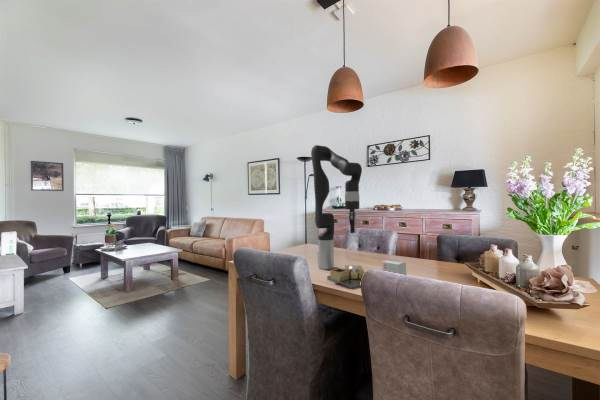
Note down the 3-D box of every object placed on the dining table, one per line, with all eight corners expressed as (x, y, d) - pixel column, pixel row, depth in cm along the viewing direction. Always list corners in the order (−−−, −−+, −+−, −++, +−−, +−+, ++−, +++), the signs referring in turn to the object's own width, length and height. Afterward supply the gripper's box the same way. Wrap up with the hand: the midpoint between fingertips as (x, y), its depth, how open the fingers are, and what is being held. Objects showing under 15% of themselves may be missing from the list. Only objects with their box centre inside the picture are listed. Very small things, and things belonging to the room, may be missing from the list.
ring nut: (353, 271, 141) (352, 263, 141) (368, 276, 133) (368, 267, 133) (327, 278, 131) (327, 269, 131) (342, 283, 122) (342, 273, 122)
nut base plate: (327, 279, 135) (327, 266, 135) (351, 273, 144) (351, 262, 144) (351, 288, 120) (350, 274, 120) (376, 282, 129) (376, 269, 129)
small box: (407, 291, 115) (406, 261, 115) (399, 295, 111) (398, 264, 111) (390, 287, 121) (389, 259, 121) (382, 290, 117) (382, 261, 117)
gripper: (346, 200, 146) (346, 231, 146) (343, 200, 133) (344, 234, 133) (359, 200, 144) (360, 231, 144) (358, 200, 131) (359, 234, 131)
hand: (352, 232), depth 139 cm, fingers closed
